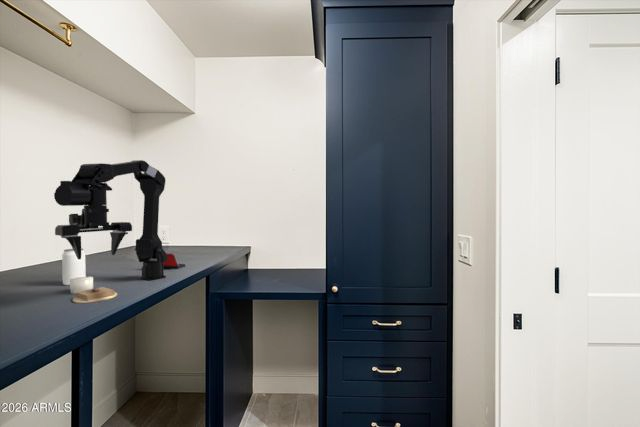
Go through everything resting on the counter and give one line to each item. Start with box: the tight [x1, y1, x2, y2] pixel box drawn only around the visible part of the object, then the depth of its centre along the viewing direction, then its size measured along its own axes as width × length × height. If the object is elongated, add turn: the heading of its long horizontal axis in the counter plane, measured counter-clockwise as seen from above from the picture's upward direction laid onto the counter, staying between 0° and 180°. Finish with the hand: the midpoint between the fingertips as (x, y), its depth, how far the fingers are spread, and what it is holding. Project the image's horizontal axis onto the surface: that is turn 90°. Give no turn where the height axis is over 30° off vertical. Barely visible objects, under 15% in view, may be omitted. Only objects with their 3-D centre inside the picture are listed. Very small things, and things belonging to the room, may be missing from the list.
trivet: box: [72, 291, 118, 304], centre depth 98 cm, size 11×11×1 cm
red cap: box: [163, 253, 186, 270], centre depth 144 cm, size 12×11×7 cm
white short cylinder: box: [69, 276, 94, 295], centre depth 105 cm, size 6×6×4 cm
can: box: [61, 248, 87, 286], centre depth 116 cm, size 6×6×12 cm
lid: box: [75, 286, 116, 301], centre depth 98 cm, size 7×7×2 cm
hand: (96, 256), depth 100 cm, fingers open, 9 cm apart
